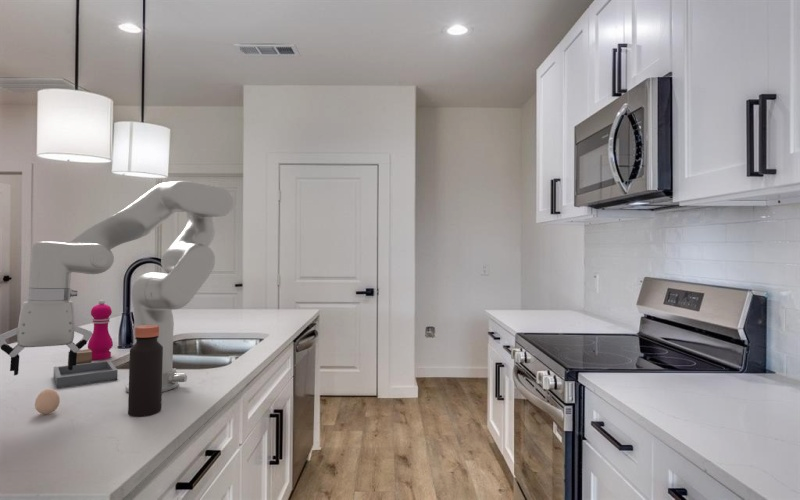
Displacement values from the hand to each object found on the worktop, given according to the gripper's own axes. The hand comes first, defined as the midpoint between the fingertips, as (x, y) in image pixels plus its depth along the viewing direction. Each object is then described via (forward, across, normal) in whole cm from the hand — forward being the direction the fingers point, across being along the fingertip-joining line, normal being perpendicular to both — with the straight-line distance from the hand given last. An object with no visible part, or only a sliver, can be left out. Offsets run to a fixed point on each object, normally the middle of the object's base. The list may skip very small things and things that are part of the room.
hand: (43, 371), depth 102 cm
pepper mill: (+9, -18, -55) cm, 59 cm away
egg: (+10, -1, 0) cm, 10 cm away
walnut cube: (+9, -11, -45) cm, 47 cm away
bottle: (+10, -19, +11) cm, 24 cm away
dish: (+9, -11, -29) cm, 32 cm away
